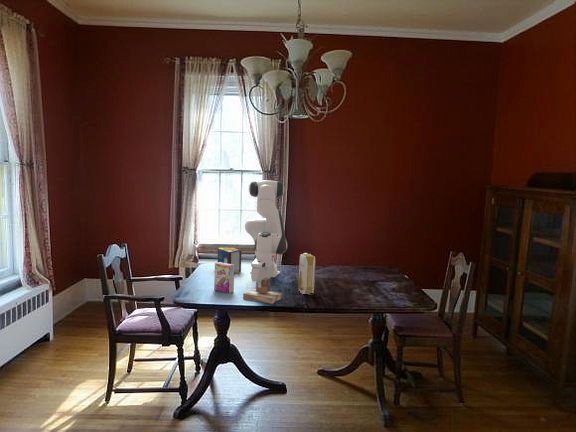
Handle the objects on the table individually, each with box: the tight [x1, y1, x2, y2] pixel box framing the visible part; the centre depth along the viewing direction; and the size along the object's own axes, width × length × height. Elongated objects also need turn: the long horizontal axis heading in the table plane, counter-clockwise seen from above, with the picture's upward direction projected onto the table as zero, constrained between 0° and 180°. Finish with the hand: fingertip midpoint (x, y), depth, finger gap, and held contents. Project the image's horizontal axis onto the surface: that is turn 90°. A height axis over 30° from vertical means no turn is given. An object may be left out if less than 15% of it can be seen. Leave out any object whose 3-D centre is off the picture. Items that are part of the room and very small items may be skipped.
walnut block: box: [255, 277, 271, 293], centre depth 238 cm, size 5×6×8 cm
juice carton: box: [297, 252, 316, 295], centre depth 252 cm, size 9×8×24 cm
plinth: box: [242, 287, 283, 305], centre depth 239 cm, size 12×18×3 cm, turn 64°
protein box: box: [217, 246, 242, 274], centre depth 300 cm, size 10×15×16 cm
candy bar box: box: [213, 261, 235, 294], centre depth 249 cm, size 11×5×16 cm, turn 59°
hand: (262, 286), depth 238 cm, fingers closed on walnut block, 5 cm apart
